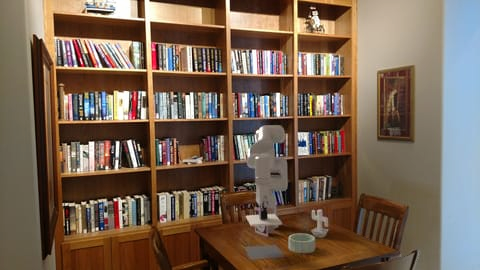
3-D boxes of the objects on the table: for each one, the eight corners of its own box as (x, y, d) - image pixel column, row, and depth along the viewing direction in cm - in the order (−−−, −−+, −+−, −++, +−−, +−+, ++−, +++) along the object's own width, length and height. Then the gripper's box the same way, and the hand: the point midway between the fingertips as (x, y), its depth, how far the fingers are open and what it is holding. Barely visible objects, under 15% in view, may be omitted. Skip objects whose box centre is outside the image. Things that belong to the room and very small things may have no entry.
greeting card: (253, 232, 221) (253, 207, 220) (263, 229, 225) (263, 205, 224) (266, 237, 212) (266, 211, 211) (276, 234, 216) (276, 208, 215)
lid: (246, 217, 194) (245, 204, 194) (274, 215, 197) (274, 202, 196) (251, 226, 180) (250, 212, 179) (281, 224, 182) (281, 210, 181)
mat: (244, 247, 196) (244, 247, 196) (276, 245, 198) (276, 244, 198) (249, 260, 179) (249, 259, 179) (284, 257, 182) (284, 256, 182)
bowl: (285, 245, 198) (285, 234, 198) (309, 243, 200) (309, 232, 200) (293, 254, 185) (293, 242, 185) (318, 252, 187) (318, 241, 187)
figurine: (324, 239, 206) (324, 212, 205) (309, 236, 212) (309, 210, 211) (330, 236, 212) (330, 209, 211) (315, 233, 218) (315, 207, 217)
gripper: (252, 178, 194) (252, 213, 196) (258, 184, 178) (259, 222, 179) (266, 177, 195) (267, 212, 197) (274, 183, 179) (274, 221, 180)
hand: (263, 216), depth 188 cm, fingers closed on lid, 3 cm apart
